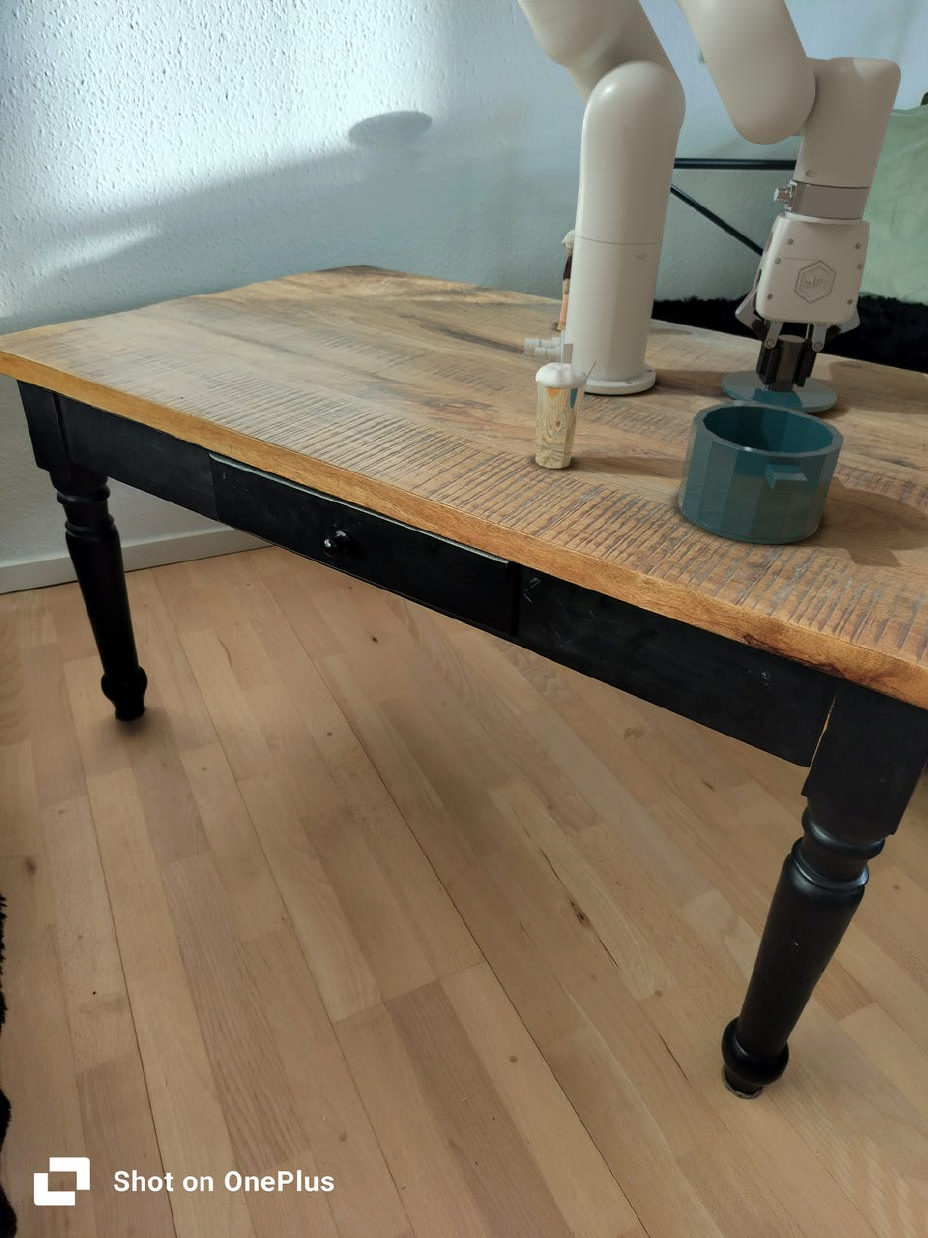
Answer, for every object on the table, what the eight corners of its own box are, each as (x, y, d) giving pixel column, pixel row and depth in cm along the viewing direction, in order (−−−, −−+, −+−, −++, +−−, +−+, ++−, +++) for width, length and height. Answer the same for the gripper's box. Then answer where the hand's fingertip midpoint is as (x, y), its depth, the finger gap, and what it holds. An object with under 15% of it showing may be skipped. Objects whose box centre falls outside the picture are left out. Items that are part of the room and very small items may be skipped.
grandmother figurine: (584, 335, 118) (595, 234, 111) (556, 333, 118) (565, 233, 111) (578, 320, 124) (589, 224, 117) (552, 319, 124) (560, 223, 117)
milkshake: (571, 478, 78) (584, 368, 73) (519, 463, 80) (528, 356, 75) (593, 462, 81) (606, 355, 76) (542, 448, 84) (552, 344, 78)
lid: (731, 413, 93) (746, 351, 90) (711, 376, 104) (723, 319, 100) (849, 421, 93) (868, 359, 89) (816, 383, 104) (832, 326, 100)
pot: (695, 556, 67) (714, 466, 63) (665, 467, 81) (679, 389, 77) (846, 565, 67) (875, 475, 62) (790, 474, 81) (810, 396, 77)
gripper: (752, 203, 84) (713, 388, 95) (922, 214, 84) (864, 398, 94) (737, 192, 91) (702, 367, 101) (894, 202, 90) (843, 376, 100)
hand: (780, 380), depth 97 cm, fingers closed on lid, 3 cm apart
